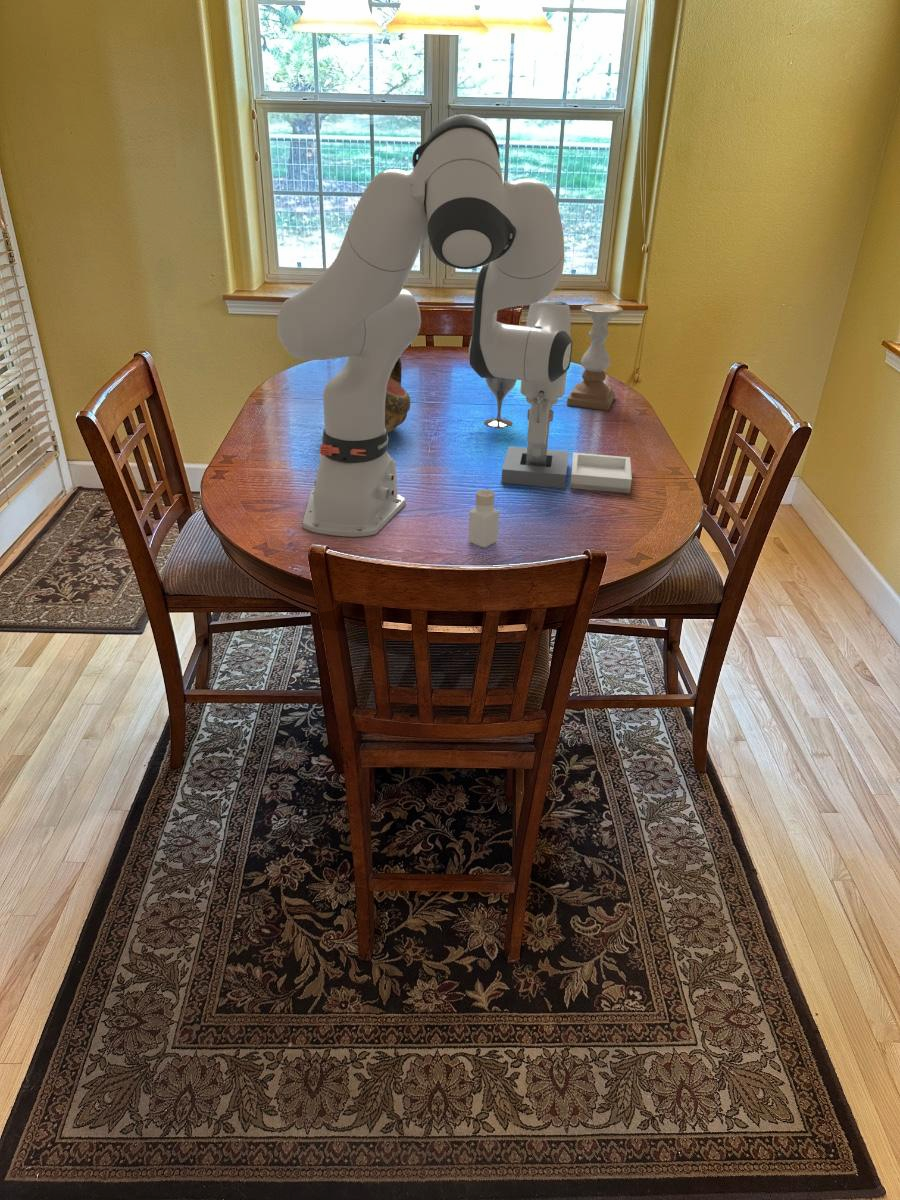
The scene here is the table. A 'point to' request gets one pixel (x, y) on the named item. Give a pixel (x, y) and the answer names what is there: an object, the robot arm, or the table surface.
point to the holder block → (535, 469)
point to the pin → (542, 458)
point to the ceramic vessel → (395, 400)
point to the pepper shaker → (483, 520)
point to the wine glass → (499, 399)
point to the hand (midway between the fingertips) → (537, 450)
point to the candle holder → (595, 361)
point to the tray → (601, 472)
